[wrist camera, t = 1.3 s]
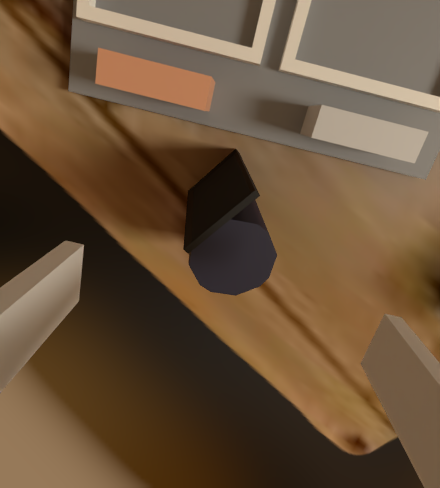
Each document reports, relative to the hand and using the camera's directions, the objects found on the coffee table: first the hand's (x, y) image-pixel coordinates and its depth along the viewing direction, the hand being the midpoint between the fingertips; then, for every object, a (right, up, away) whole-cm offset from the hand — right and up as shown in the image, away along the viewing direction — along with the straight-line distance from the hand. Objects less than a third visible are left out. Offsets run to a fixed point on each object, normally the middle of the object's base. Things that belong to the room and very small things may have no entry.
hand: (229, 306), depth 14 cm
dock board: (+4, +19, +9) cm, 22 cm away
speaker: (+1, +6, +14) cm, 16 cm away
